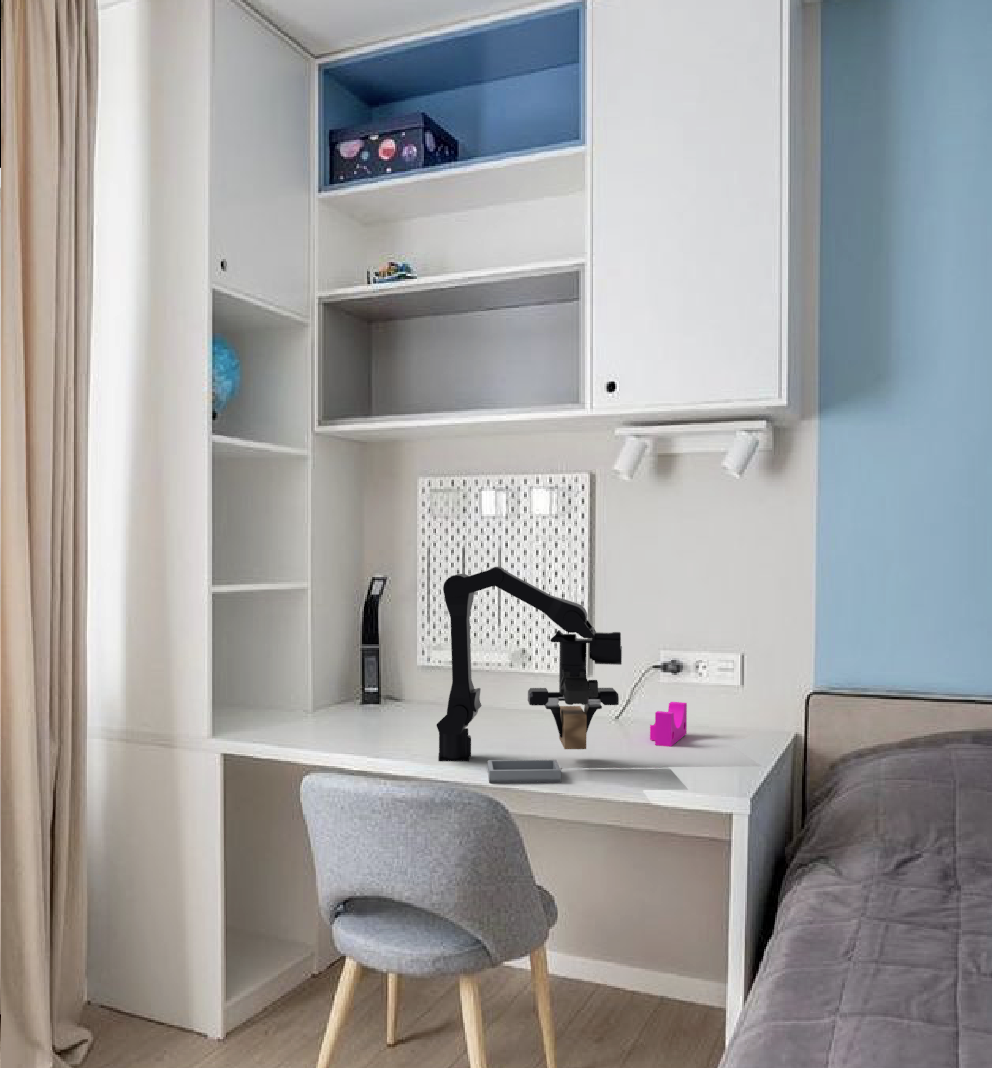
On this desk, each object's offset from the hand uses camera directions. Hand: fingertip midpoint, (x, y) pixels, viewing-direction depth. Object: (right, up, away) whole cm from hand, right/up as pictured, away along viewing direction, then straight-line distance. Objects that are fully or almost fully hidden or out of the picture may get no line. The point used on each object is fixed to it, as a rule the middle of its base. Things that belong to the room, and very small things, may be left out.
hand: (572, 737), depth 207 cm
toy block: (+24, -6, +26) cm, 36 cm away
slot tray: (-11, -6, -10) cm, 16 cm away
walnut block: (0, -1, 0) cm, 1 cm away
